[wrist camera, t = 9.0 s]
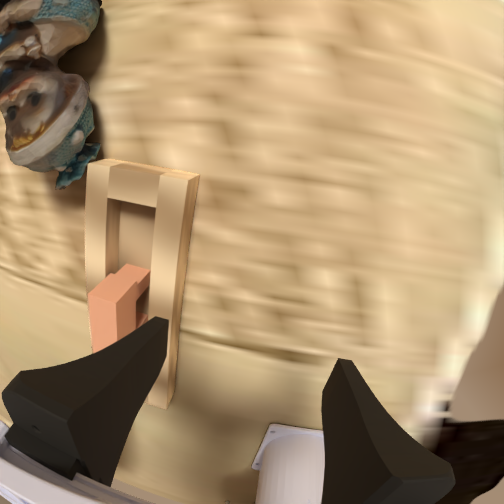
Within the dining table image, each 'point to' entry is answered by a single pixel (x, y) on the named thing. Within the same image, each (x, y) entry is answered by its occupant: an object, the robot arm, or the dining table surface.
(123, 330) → the tall salmon pink block
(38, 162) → the figurine
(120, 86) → the dining table surface
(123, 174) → the rail
